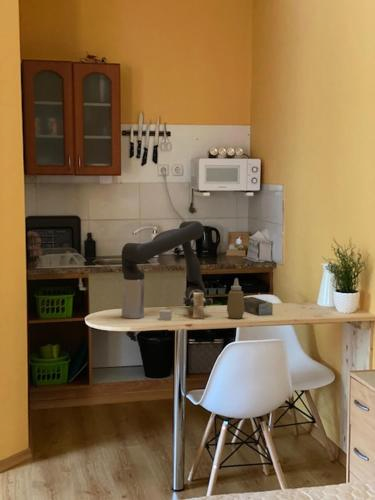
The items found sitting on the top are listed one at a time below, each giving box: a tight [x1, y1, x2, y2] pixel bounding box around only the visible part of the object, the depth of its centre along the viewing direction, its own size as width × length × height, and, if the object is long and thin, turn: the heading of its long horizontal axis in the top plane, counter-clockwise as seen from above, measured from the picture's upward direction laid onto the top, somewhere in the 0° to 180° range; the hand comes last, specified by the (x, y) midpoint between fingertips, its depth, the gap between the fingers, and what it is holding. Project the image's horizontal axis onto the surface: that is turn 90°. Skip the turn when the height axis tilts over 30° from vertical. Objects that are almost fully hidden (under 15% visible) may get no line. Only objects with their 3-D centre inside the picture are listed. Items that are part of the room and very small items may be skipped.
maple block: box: [192, 293, 205, 319], centre depth 290 cm, size 4×4×11 cm
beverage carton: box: [244, 296, 274, 317], centre depth 308 cm, size 8×19×7 cm, turn 24°
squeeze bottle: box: [226, 277, 245, 320], centre depth 291 cm, size 8×8×18 cm
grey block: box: [159, 309, 173, 321], centre depth 285 cm, size 5×5×4 cm
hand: (198, 304), depth 287 cm, fingers closed on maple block, 4 cm apart
